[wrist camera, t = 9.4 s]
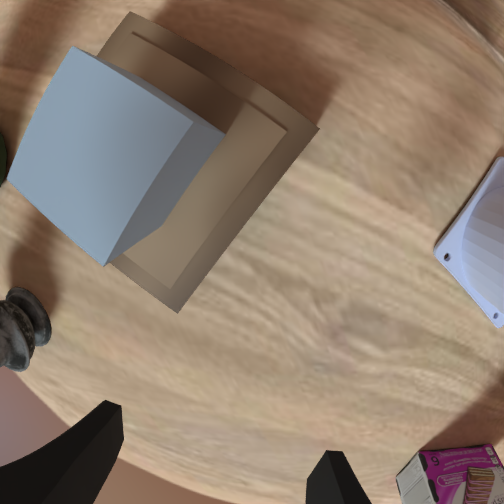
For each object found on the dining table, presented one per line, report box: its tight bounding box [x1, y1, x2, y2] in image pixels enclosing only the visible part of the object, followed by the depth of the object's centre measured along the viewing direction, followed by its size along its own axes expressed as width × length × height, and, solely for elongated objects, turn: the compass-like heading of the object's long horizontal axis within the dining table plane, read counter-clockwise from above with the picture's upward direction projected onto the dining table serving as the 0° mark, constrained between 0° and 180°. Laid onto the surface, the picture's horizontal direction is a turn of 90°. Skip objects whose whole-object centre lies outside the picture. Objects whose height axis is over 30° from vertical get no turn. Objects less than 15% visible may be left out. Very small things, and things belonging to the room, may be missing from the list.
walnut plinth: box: [97, 12, 320, 314], centre depth 15 cm, size 11×11×3 cm
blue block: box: [7, 46, 226, 267], centre depth 11 cm, size 5×5×6 cm
